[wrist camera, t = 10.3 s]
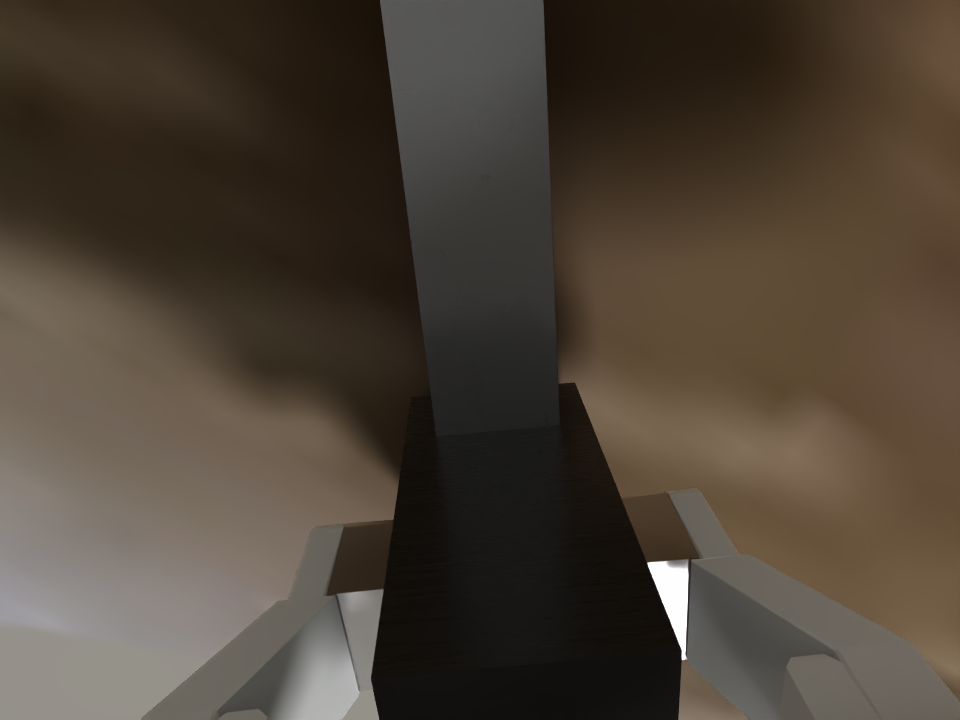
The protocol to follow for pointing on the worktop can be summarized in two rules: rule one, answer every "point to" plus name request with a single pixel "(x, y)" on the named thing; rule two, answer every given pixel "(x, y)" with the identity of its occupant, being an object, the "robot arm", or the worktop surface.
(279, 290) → the worktop surface
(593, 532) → the hook tool
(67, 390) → the worktop surface
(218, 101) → the worktop surface
